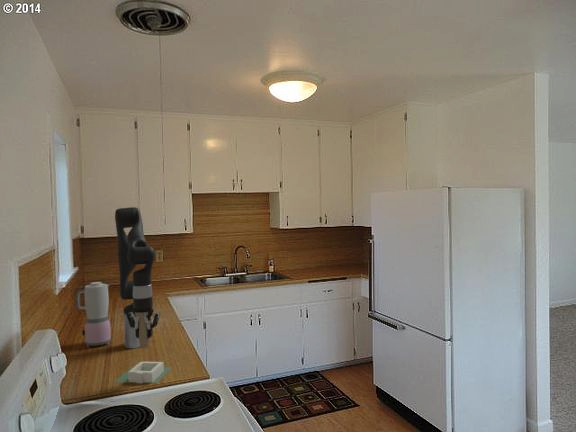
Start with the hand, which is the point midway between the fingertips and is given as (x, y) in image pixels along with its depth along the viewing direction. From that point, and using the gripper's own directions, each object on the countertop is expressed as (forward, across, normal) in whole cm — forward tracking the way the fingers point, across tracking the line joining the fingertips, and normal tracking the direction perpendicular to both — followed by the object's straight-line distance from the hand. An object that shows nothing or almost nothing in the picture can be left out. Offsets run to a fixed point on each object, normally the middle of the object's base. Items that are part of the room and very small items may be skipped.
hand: (144, 337), depth 170 cm
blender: (+18, +47, -41) cm, 65 cm away
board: (+18, +2, -3) cm, 18 cm away
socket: (+17, 0, -1) cm, 17 cm away
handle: (+4, 0, 0) cm, 4 cm away
